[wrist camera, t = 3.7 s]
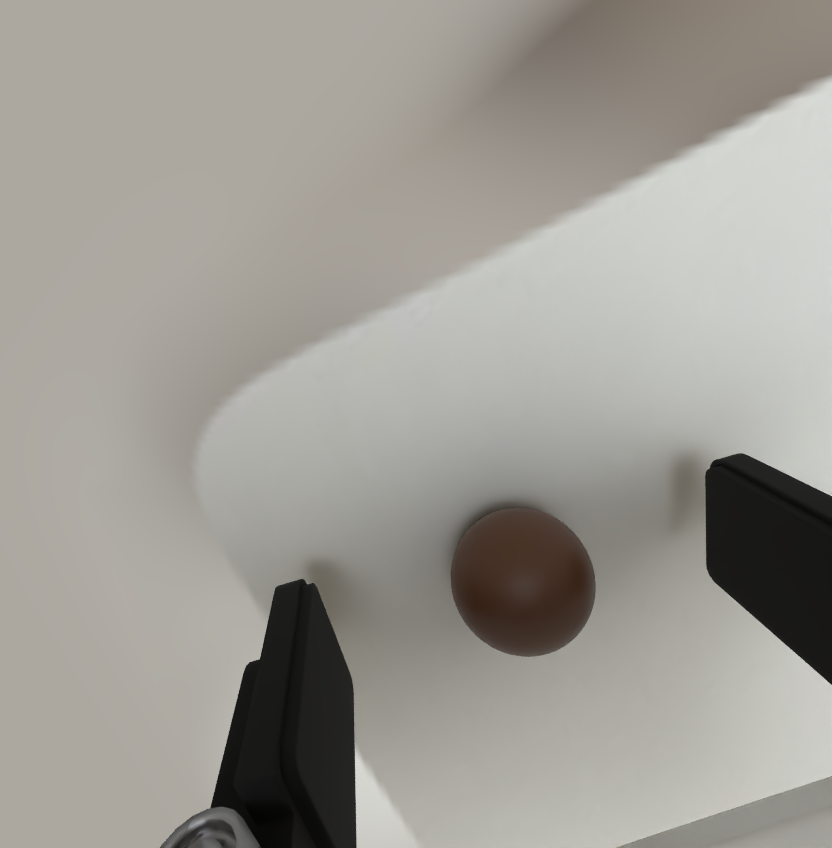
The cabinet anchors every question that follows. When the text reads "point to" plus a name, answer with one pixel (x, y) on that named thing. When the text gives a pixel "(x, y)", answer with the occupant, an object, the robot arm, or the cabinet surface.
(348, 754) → the robot arm
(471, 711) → the cabinet surface
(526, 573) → the ball
